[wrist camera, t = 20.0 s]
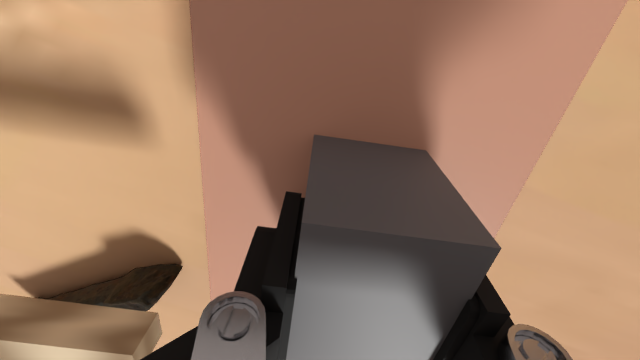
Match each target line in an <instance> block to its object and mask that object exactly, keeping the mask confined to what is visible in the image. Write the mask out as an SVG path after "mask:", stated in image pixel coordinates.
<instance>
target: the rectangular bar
mask: <svg viewBox="0 0 640 360" xmlns="http://www.w3.org/2000/svg"><path fill="white" fill-rule="evenodd" d="M161 335H162V330H161V325H160V320H159V315H158V313H154V312H146V311H138V310H129V309H121V308H113V307H105V306H96V305H88V304H80V303H72V302H63V301H55V300H47V299H38V298H30V297H22V296H14V295H5V294H0V360H140V359H142V358H144V357H145V356H147V355H149V354H151V353H152V351H153V349H154V347H155V346H156V344H157V342H158V340H159V338H160V337H161Z"/></svg>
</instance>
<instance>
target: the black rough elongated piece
mask: <svg viewBox="0 0 640 360" xmlns="http://www.w3.org/2000/svg"><path fill="white" fill-rule="evenodd" d="M182 267H183V266H181V265H176V264H168V265H157V266H151V267H145V268H136V269H133V270H132V271H131V272H130V273H128V274H127V275H126V276H124V277H121V278H118V279H115V280H111V281H107V282H103V283H99V284H94V285H91V286H89V287H86V288H84V289H80V290H77V291H73V292H68V293H66V294H60V295H59V296H57V297H53V298H50V299H48V300H55V301H63V302H72V303H80V304H88V305H96V306H105V307H113V308H121V309H129V310H138V311H147V310H149V309H150V308H151V307H152V306H153V305H154V304H155V303H157V301H158V300H159V299H160V298H161V297H162V295H163V294H164V293H165V292H166V291H167V290H168V288H169V287H170V286H171V285H172V283H173V282H174V280H175V278H176V277H177V275H178V274H179V272H180V271H181V269H182ZM38 299H42V298H40V297H38Z"/></svg>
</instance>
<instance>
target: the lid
mask: <svg viewBox="0 0 640 360" xmlns="http://www.w3.org/2000/svg"><path fill="white" fill-rule="evenodd" d="M189 1H190V15H191V29H192V44H193V58H194V72H195V86H196V100H197V114H198V128H199V142H200V156H201V170H202V184H203V198H204V212H205V226H206V240H207V255H208V269H209V283H210V297H211V301H212V300H214V299H215V298H216V297H218V296H220V295H222V294H225V293H227V292H234V289H235V286H236V283H237V280H238V278H239V275H240V272H241V269H242V266H243V264H244V261H245V258H246V255H247V252H248V250H249V247H250V244H251V241H252V238H253V236H254V233H255V230H256V228H257V226H262V227H270V228H277V224H278V220H279V217H280V213H281V209H282V205H283V201H284V197H285V193H286V191H288V192H296V193H302V195H301V197H302V198H305V203H304V210H303V217H302V224H301V232H300V239H299V247H298V254H297V262H296V269H295V277H294V278H297V285H296V292H295V300H294V307H293V314H292V321H291V328H290V335H289V342H288V349H287V356H286V360H433V359H434V357H435V356H436V354H437V352H438V350H439V349H440V347H441V345H442V344H443V342H444V340H445V338H446V337H447V335H448V333H449V331H450V330H451V328H452V326H453V325H454V323H455V321H456V319H457V318H458V316H459V314H460V313H461V311H462V309H463V307H464V306H465V304H466V302H467V301H468V299H472V297H473V295H474V294H475V292H476V290H477V289H478V287H479V285H480V284H481V282H482V280H483V279H484V277H485V275H486V273H487V272H488V270H489V268H490V267H491V265H492V263H493V262H494V260H495V258H496V256H497V255H498V253H499V251H500V250H501V247H500V246H499V245H498V243H497V242H496V241H495V239H494V238H495V236H496V234H497V232H498V231H499V229H500V227H501V225H502V223H503V222H504V220H505V218H506V216H507V215H508V213H509V211H510V209H511V207H512V206H513V204H514V202H515V200H516V198H517V197H518V195H519V193H520V191H521V190H522V188H523V186H524V184H525V182H526V181H527V179H528V177H529V175H530V174H531V172H532V170H533V168H534V166H535V165H536V163H537V161H538V159H539V158H540V156H541V154H542V152H543V150H544V149H545V147H546V145H547V143H548V141H549V140H550V138H551V136H552V134H553V133H554V131H555V129H556V127H557V125H558V124H559V122H560V120H561V118H562V117H563V115H564V113H565V111H566V109H567V108H568V106H569V104H570V102H571V101H572V99H573V97H574V95H575V93H576V92H577V90H578V88H579V86H580V84H581V83H582V81H583V79H584V77H585V76H586V74H587V72H588V70H589V68H590V67H591V65H592V63H593V61H594V60H595V58H596V56H597V54H598V52H599V51H600V49H601V47H602V45H603V44H604V42H605V40H606V38H607V36H608V35H609V33H610V31H611V29H612V27H613V26H614V24H615V22H616V20H617V19H618V17H619V15H620V13H621V11H622V10H623V8H624V6H625V4H626V3H627V1H628V0H189Z"/></svg>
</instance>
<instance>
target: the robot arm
mask: <svg viewBox="0 0 640 360" xmlns="http://www.w3.org/2000/svg"><path fill="white" fill-rule="evenodd" d="M301 195H302V193H296V192H288V191H286V193H285V197H284V201H283V205H282V209H281V213H280V217H279V220H278V224H277V228H270V227H262V226H257V228H256V230H255V233H254V236H253V238H252V241H251V244H250V247H249V250H248V252H247V255H246V258H245V261H244V264H243V266H242V269H241V272H240V275H239V278H238V280H237V283H236V286H235V289H234V292H227V293H225V294H222V295H220V296H218V297H216V298H215V299H214V300H212V301H211V302H210V303H209V304H208V305H207V306H206V308H205V309H204V310H203V313H202V315H201V318H200V321H199V325H198V326H197V327H195V328H194V329H192V330H190V331H188V332H187V333H185V334H183V335H182V336H180V337H178V338H176V339H175V340H173V341H171V342H170V343H168V344H166V345H164V346H163V347H161V348H159V349H157V350H156V351H154V352H152V353H151V354H149V355H147V356H145V357H144V358H142V359H140V360H286V356H287V349H288V342H289V335H290V328H291V321H292V314H293V307H294V300H295V292H296V285H297V278H294V277H295V269H296V262H297V254H298V247H299V239H300V232H301V224H302V217H303V210H304V203H305V198H302V197H301ZM510 315H511V314H510V313H509V311H508V309H507V308H506V306H505V305H504V303H503V301H502V300H501V298H500V297H499V295H498V293H497V292H496V290H495V289H494V287H493V285H492V284H491V282H490V281H489V279H488V277H487V276H486V275H485V277H484V279H483V280H482V282H481V284H480V285H479V287H478V289H477V290H476V292H475V294H474V295H473V297H472V299H468V301H467V302H466V304H465V306H464V307H463V309H462V311H461V313H460V314H459V316H458V318H457V319H456V321H455V323H454V325H453V326H452V328H451V330H450V331H449V333H448V335H447V337H446V338H445V340H444V342H443V344H442V345H441V347H440V349H439V350H438V352H437V354H436V356H435V357H434V359H433V360H573V359H572V358H571V356H570V355H569V354H568V352H567V351H566V350H565V349H564V348H563V347H562V346H561V345H560V344H559V343H558V342H557V341H556V340H554V339H553V338H552V337H551V336H549V335H548V334H546V333H544V332H543V331H541V330H539V329H537V328H535V327H532V326H529V325H524V324H517V325H514V323H513V322H512V320H511V318H510V317H509V316H510Z"/></svg>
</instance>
